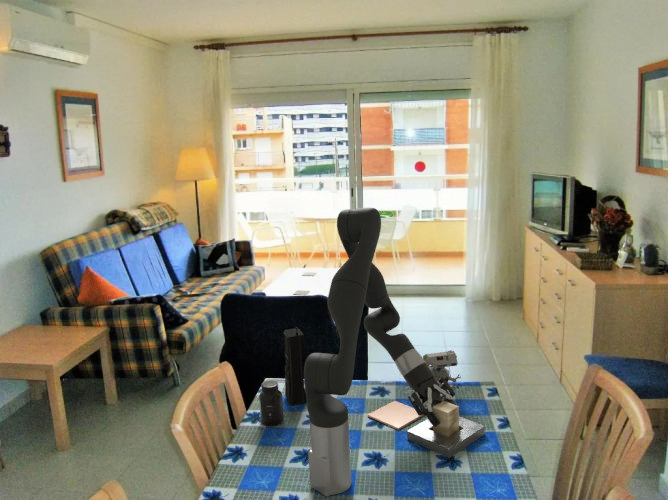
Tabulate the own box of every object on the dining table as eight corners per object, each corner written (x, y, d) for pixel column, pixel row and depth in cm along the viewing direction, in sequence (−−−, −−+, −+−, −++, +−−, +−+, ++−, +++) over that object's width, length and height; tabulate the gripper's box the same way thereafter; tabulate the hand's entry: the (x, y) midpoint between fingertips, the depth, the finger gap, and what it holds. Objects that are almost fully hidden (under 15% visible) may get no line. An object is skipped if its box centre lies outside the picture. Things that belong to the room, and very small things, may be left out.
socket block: (449, 458, 153) (449, 449, 153) (407, 439, 164) (407, 430, 163) (484, 434, 164) (484, 426, 163) (443, 417, 174) (443, 409, 174)
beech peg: (448, 443, 160) (447, 412, 158) (433, 437, 164) (432, 407, 162) (459, 436, 164) (458, 406, 162) (444, 430, 167) (443, 400, 165)
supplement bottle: (257, 426, 175) (254, 388, 172) (265, 415, 181) (262, 378, 179) (279, 428, 173) (276, 389, 170) (286, 416, 179) (284, 379, 177)
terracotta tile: (398, 430, 168) (398, 428, 168) (367, 416, 177) (367, 414, 177) (425, 414, 176) (425, 412, 176) (394, 402, 185) (394, 400, 185)
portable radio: (284, 395, 193) (278, 322, 188) (302, 392, 195) (297, 319, 190) (289, 406, 186) (284, 330, 181) (308, 402, 188) (303, 327, 183)
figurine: (460, 405, 181) (460, 359, 178) (422, 403, 183) (421, 357, 180) (460, 392, 190) (460, 348, 186) (424, 390, 192) (423, 346, 189)
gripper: (404, 370, 161) (439, 423, 155) (436, 354, 170) (471, 404, 165) (390, 383, 166) (423, 435, 160) (422, 367, 175) (455, 415, 169)
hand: (447, 419), depth 162 cm, fingers open, 8 cm apart
